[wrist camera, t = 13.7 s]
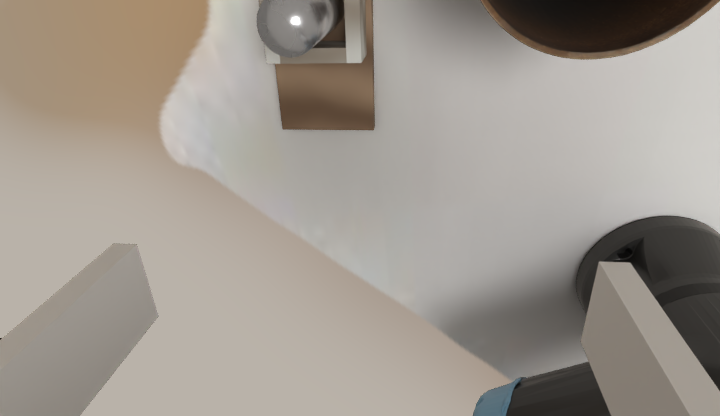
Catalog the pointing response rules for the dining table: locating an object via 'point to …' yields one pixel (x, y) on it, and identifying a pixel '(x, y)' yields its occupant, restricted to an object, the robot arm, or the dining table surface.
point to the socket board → (331, 76)
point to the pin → (297, 24)
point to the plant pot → (594, 24)
